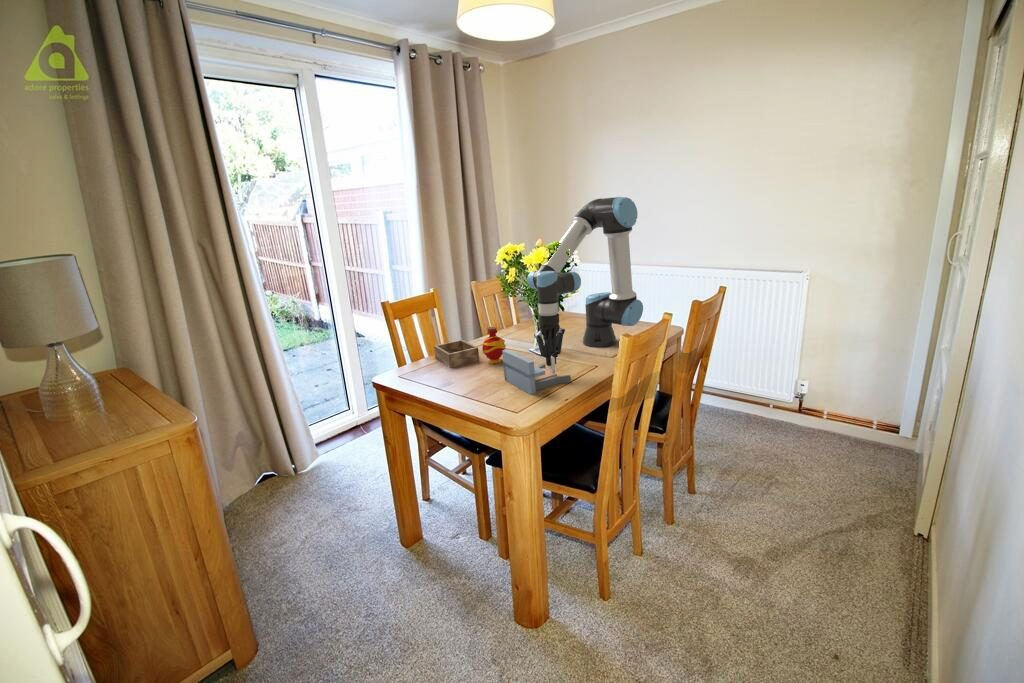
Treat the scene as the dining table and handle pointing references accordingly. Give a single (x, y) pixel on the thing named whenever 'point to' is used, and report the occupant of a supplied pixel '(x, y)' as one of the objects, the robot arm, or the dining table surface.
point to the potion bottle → (493, 346)
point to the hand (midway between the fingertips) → (551, 372)
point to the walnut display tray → (456, 353)
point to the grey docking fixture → (527, 373)
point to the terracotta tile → (547, 375)
